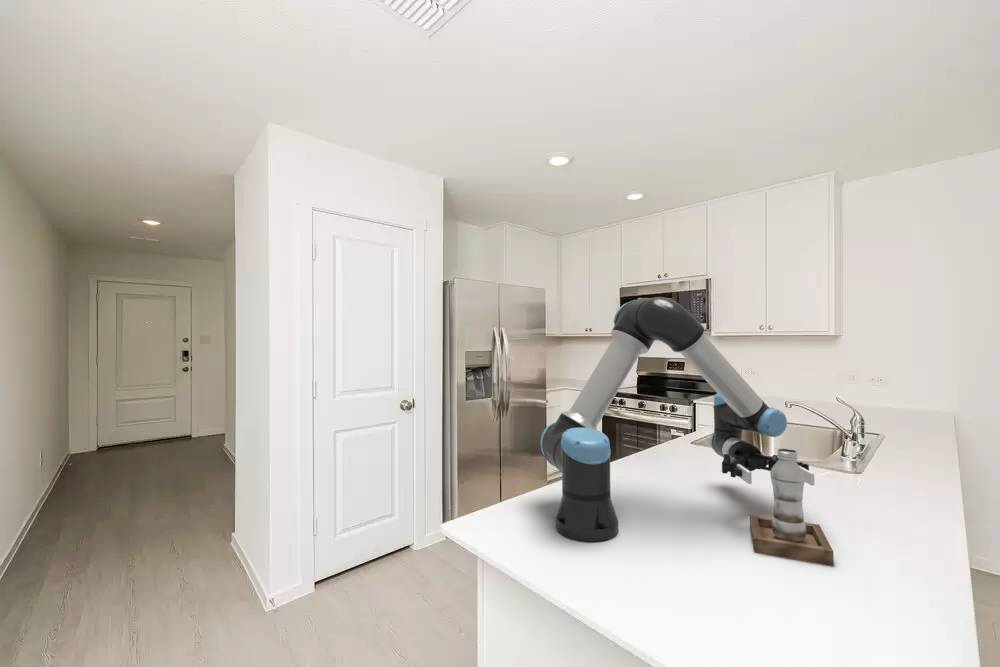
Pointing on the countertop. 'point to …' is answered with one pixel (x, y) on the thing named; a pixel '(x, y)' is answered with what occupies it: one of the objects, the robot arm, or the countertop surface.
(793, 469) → the plastic bottle
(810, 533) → the wooden tray
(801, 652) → the countertop surface
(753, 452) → the robot arm
